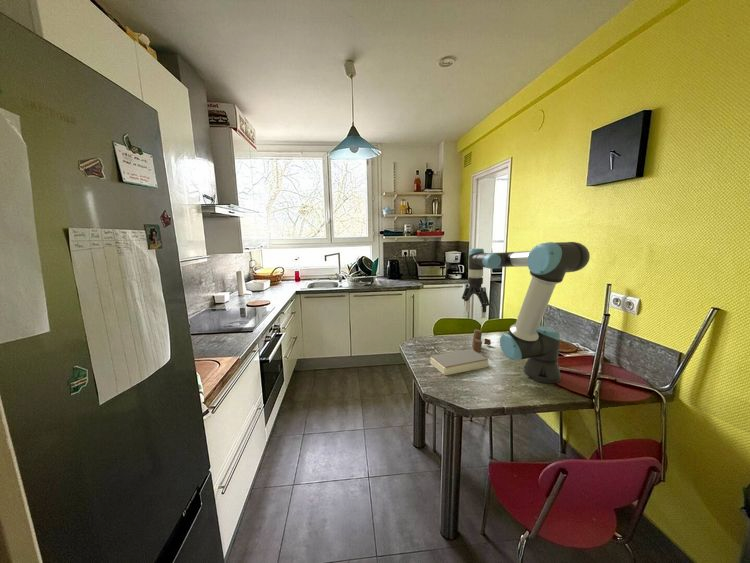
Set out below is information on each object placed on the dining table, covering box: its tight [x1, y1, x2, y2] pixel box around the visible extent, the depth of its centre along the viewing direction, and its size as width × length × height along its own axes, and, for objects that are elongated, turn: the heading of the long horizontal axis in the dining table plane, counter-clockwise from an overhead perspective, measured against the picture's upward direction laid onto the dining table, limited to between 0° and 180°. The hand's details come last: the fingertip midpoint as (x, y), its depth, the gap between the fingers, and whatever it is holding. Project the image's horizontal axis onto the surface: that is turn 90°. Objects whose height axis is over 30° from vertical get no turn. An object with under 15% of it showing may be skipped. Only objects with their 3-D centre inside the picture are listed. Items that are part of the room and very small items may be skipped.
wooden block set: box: [471, 329, 492, 354], centre depth 165 cm, size 18×9×10 cm, turn 146°
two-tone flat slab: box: [429, 348, 489, 376], centre depth 147 cm, size 14×25×4 cm, turn 109°
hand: (474, 314), depth 163 cm, fingers open, 13 cm apart
